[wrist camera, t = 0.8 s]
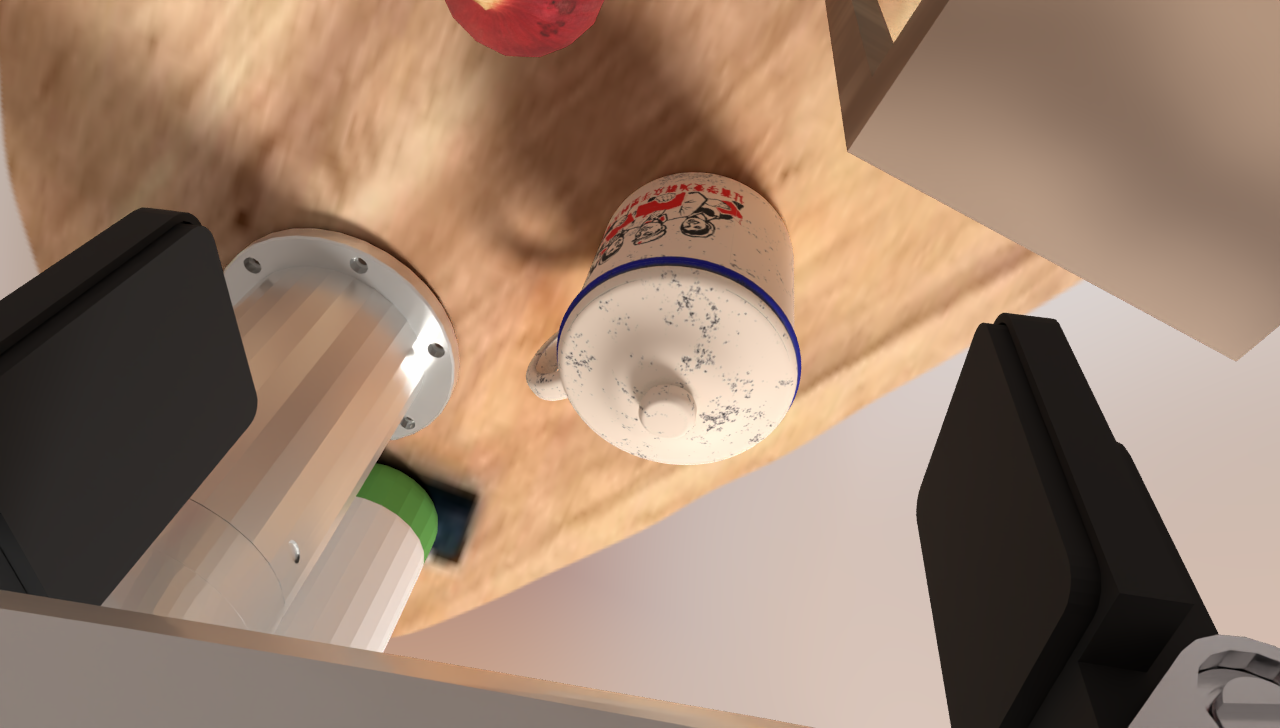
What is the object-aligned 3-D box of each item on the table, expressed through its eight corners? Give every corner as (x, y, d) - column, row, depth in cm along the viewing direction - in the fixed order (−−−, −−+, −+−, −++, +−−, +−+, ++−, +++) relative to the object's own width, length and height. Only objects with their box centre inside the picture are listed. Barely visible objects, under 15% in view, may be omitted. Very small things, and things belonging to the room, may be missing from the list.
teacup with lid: (750, 128, 34) (734, 265, 24) (829, 305, 38) (841, 480, 29) (509, 234, 38) (418, 384, 29) (603, 382, 43) (550, 555, 33)
